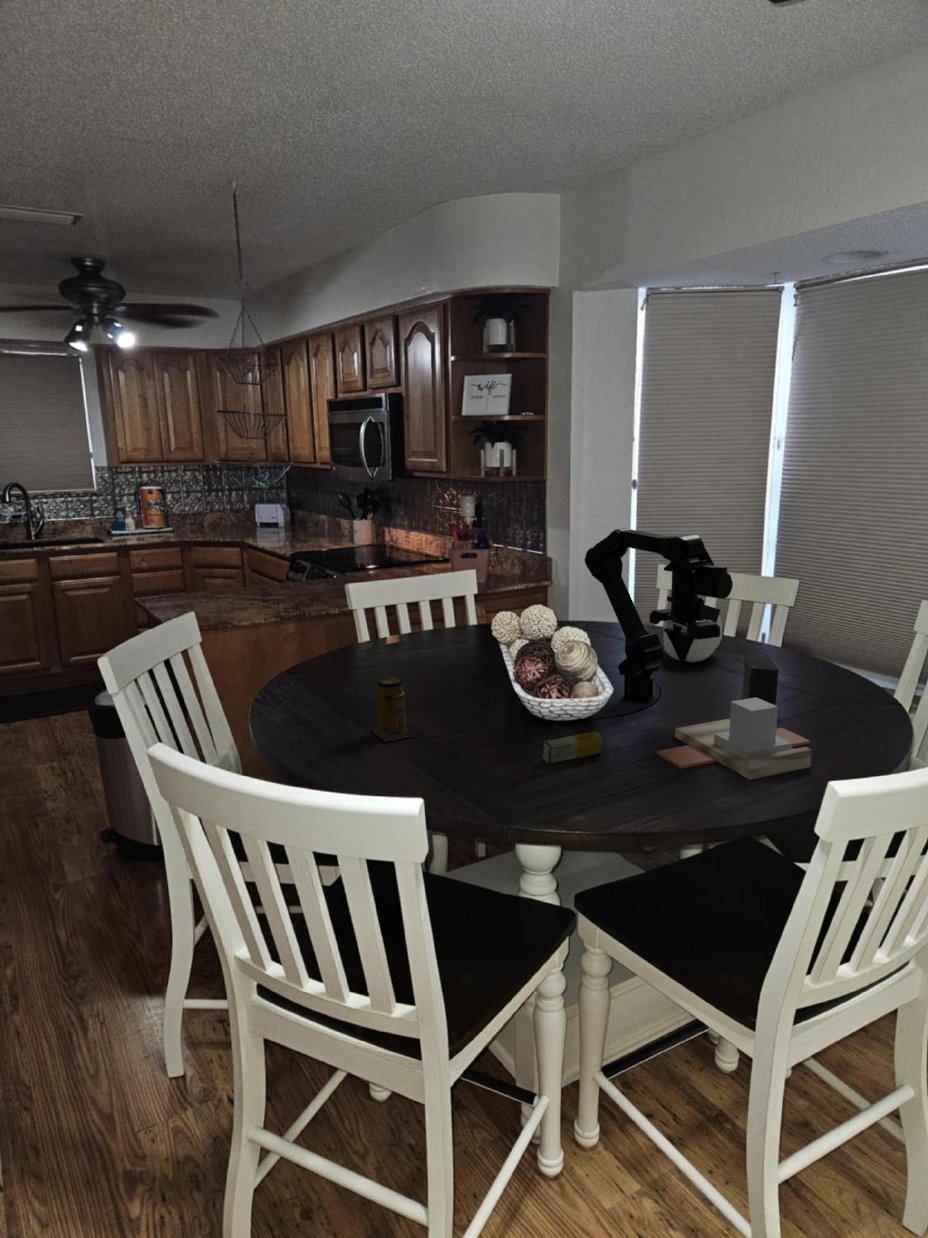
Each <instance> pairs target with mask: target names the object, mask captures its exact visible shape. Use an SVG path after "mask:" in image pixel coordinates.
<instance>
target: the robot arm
mask: <svg viewBox="0 0 928 1238" xmlns="http://www.w3.org/2000/svg"><path fill="white" fill-rule="evenodd" d="M629 548H630V549H634V550H639V551H644V552H649V553H653V554H657V555H660V556H662V558H664V559H665V560H667V561H669V563H668V564H667V565H666V566H665V567H663V570H664V571H666V572H671V589H670V591H671V592H670V595H667V597H666V601H667V602H670V608H663V609H662V608H661V609H654V610H652V611H651V612H650V613H649V623H651V624H653V625H659V623H661V622H664V621H665V622H667V628H664V630H663V632H664V631H665V632H666V634H667V635H668V637H669V639H670V641H671V643H672V645H673V647H674V650H675V652H676V654H677V656H678V658H679V660H678V661H681V662H684V661H685V660H686V657H687V655H688V652H689V650H690V647H691V645H692V643H693V641H694V639H707V638H715V637H720V627H719V626H718V624H716V623H717V620H718V617H719V616H720V614H721V611H722V610H721V609H719V608H717V607H713V606H711V605H710V606H707V605H708V604H707V605H705V602H706V601H705V600H704V599H703V598H702V597H701V596H703V597H707V598H713V599H714V598H715V599H719V600H721V599H722V600H725V599H727V598H728V597H729V596H730V594H731V592H732V589H733V586H734V585H733V584H734V581H733V579H732V577H731V574H730V573H729V572H728V566H723V565H720V566H718V565H715V563H714V561H713V560H712V558H711V556H710V554H709V553H708V550H707V549H706V547H705V544H704V541H703V539H702V537H701V536H699V535H697V534H684V535H683V534H682V535H664V534H657V533H651V532H646V531H642V530H641V531H640V530H634V529H631V528H629V527H624V528H623V527H622V528H617V529H614V530H613V531H611V532H610V533H609V534H608V535H607V536H606V537H605V538H603V539H602V540H600V541H599V542H597V543H595V544H594V546H593V547H590V548H588V550H587V551H586V553H585V557H584V564H585V566H586V567H587V569H588V571H589V573H590V574H591V577H593V578H594V579H596V580H597V581H598V582H599V583H600V584H601V585H602V587H603V588H604V591H605V593H606V595H607V598H608V600H609V603H610V605H611V608H612V609H613V612H614V614H615V616H616V618H617V621H618V624H619V626H620V628H621V630H622V632H623V635H624V637H625V640H624V641H625V643H624V654H625V659H623V660H622V661H621V662H620V663H619V664H618V665H617V668H618V673H619V675H621V676H624V677H623V681H624V682H623V684H624V685H623V687H624V688H623V696H622V698H621V699H622V700H623V701H631V702H632V701H633V702H639V703H640V702H641V703H642V702H643V703H650V702H651V700H652V699H653V698H654V697H655V696H656V679H655V678H654V673H656V672H659V669H660V665H662V663H663V661H664V658H665V653H664V650H665V647H664V645H663V644H662V643H661V641H660V637H659V635H658V634H657V632H656V633H652V634H651V633H650V632H648V631H647V630H646V628H645V627H644V623H643V622H642V619H641V617H640V615H639V613H638V610H637V608H636V605H635V604H634V601H633V599H632V597H631V595H630V593H629V589H628V588H627V585H626V583H625V581H624V578H623V575H622V574H623V567H624V565H623V564H624V563H623V560H622V558H623V557H624V556H625V555H626V554H627V552H628V550H629ZM704 619H706V620H711V621H713V622H715V623H712V622H709V621H704ZM696 621H702V622H696ZM685 662H686V661H685Z"/></svg>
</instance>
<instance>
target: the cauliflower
mask: <svg viewBox="0 0 928 1238" xmlns="http://www.w3.org/2000/svg"><path fill="white" fill-rule="evenodd" d="M705 605H707V606H711V605H710V604H707V603H705ZM704 621H709V622H712V623H715V622H713V621H711V620H706V619H704ZM696 622H702V621H696ZM716 624H718V626H719V627H720V637H715V638H707V639H694V641H693V643H692V645H691V647H690V650H689V652H688V655H687V657H686V660H685V662H688V663H696V662H698V663H699V662H701V661H704V660H706V659H709V657H710V656H711V655H712V654H713V653H714V651H715V650H716V649H717V648H718V646H719V645H720V642H721V641H722V638H723V629H724V628H723V622H722V619H721V617H720V615H719V617H718V620H717V623H716ZM664 628H667V622H665V621H663V623H662V629H663V631H662V632H663V638H662V640H663V647H664V651H665V652H666V654H667V655H669V656H670V658H673V659H674V660H677V661H680V660H679V658H678V656H677V654H676V652H675V650H674V647H673V645H672V643H671V641H670V639H669V637H668V635H667V634H666V632H665V631H664Z"/></svg>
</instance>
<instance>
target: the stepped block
mask: <svg viewBox="0 0 928 1238" xmlns="http://www.w3.org/2000/svg"><path fill="white" fill-rule="evenodd" d="M778 709H779V707H778V706H777V705H776V706H775V705H773V704H771V703H768V702H766V701H764V700H761V699H759V698H756V697H755V698H749V699H743V700H742V699H739V700H732V701H730V711H729V712H730V715H729V719H730V730H729V731H726V732H720V733H715V734H714V743H715V744H716V745H718V746H720V747H722V748H724V749H726V750H727V751H729V752H731V753H733V754H735V755H737V756H738V757H740V758H742V759H744V760H745V759H747V758H752V757H757V756H762V755H767V754H772V753H777V752H782V751H787V750H791V748H792V747H791V743H790V742H788V741H786V740H784V739H782V738H779V737H777V736H776V729H777V727H778V725H777V722H778V712H779V711H778Z"/></svg>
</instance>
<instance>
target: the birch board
mask: <svg viewBox="0 0 928 1238" xmlns="http://www.w3.org/2000/svg"><path fill="white" fill-rule="evenodd" d="M674 730H675V731H674V737H675V738H676V739H677V740H679V741H681V742H683V743H684V744H686V745H692V746H694V747H695V748H697V749H699V750H701V751H702V752H704V753H706V754H708V755H710V756H711V757H713V758H715V759H716V762H718V763H720V764H721V765H723V766H725V767H726V768H729V769H730V770H732V771H733V772H735V773H737V774H739V775H741V776H742V777H744V778H746V779H748V780H749V781H750V780H755V779H759V778H765V777H769V776H773V775H780V774H783V773H787V772H793V771H798V770H802V769H807V768H811V761H812V760H811V759H812V748H810V747H809V748H808V747H807V746H803V747H798V748H794V747H791V750H787V751H782V752H777V753H772V754H767V755H762V756H757V757H752V758H747V759H745V760H744V759H742V758H740V757H738V756H737V755H735V754H733V753H731V752H729V751H727V750H726V749H724V748H722V747H720V746H718V745H716V744H715V743H714V734H715V733H720V732H726V731H729V730H730V718H726V719H719V720H714V721H709V722H703V723H697V724H691V725H686V726H680V727H675V729H674Z"/></svg>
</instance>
